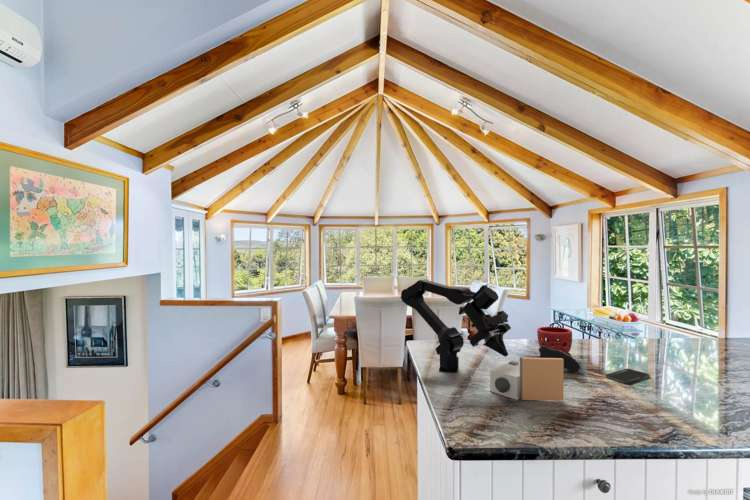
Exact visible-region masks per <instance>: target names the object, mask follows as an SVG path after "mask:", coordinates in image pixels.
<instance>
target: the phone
mask: <svg viewBox="0 0 750 500" xmlns="http://www.w3.org/2000/svg"><path fill="white" fill-rule="evenodd" d="M650 377H651V376H650V373H646V372H642V371H639V370H635V369H632V368H631V369H630V368H624V369H621V370H617V371H614V372H611V373H607V374H605V378H606V379H608V380H611V381H614V382H618V383H621V384H625V385H632V384H635V383H638V382H640V381H643V380H646V379H649V378H650Z"/></svg>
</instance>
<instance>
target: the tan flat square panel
mask: <svg viewBox="0 0 750 500" xmlns="http://www.w3.org/2000/svg"><path fill="white" fill-rule="evenodd" d="M519 362H520V398H519V399H520V400H523V401H525V400H527V401H528V400H529V401H563V402H564V388H565V386H564V380H565V379H564V374H565V373H564V370H565V368H564V359H562V358H539V357H523V356H520V357H519Z"/></svg>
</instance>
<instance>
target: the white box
mask: <svg viewBox="0 0 750 500" xmlns="http://www.w3.org/2000/svg"><path fill="white" fill-rule="evenodd" d="M489 371H490V372H489V373H490V374H489V377H490V379H489V383H490V385H489V391H490V392H491V391H492V393H494V392H495V394H497V393H498V395H501V396H503V397H507V398H510V399H513V400H519V399H520V361H517V360H508V361H506V362H503V363H501V364H499V365H498V366H495V367H493V368H491V369H489Z"/></svg>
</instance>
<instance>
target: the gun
mask: <svg viewBox="0 0 750 500" xmlns="http://www.w3.org/2000/svg"><path fill="white" fill-rule="evenodd" d="M538 352H539V354H540V355H539V357H538V358H562V359H564V370H567V371H569V372H571V373H573V374H578V373H579V371H581V372H583V371H584V369H583V368H582V367H581V365H580V363H578V361H577V360H576V359H575V358H573V356H572V355H571V356H570V355H568V354H566V353H564V352H562V351H560V350H557V349H552V348H548V347H546V346H544V345H543V346H539V348H538Z"/></svg>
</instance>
